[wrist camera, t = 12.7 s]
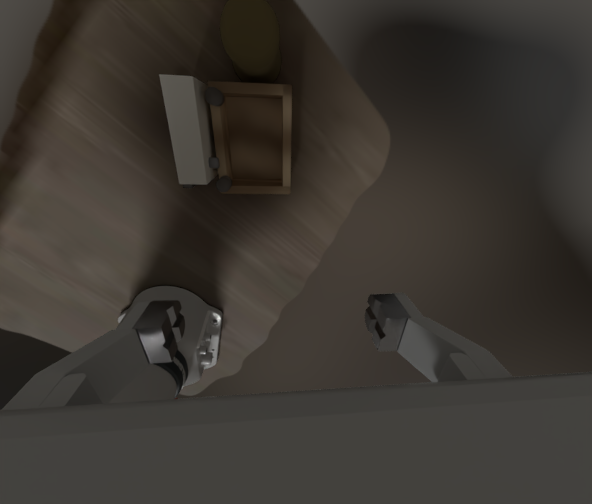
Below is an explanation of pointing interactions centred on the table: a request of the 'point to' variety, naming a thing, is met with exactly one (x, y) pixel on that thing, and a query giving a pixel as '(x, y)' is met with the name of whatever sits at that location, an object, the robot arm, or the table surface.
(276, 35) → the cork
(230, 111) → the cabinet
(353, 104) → the table surface
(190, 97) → the white rectangular block
